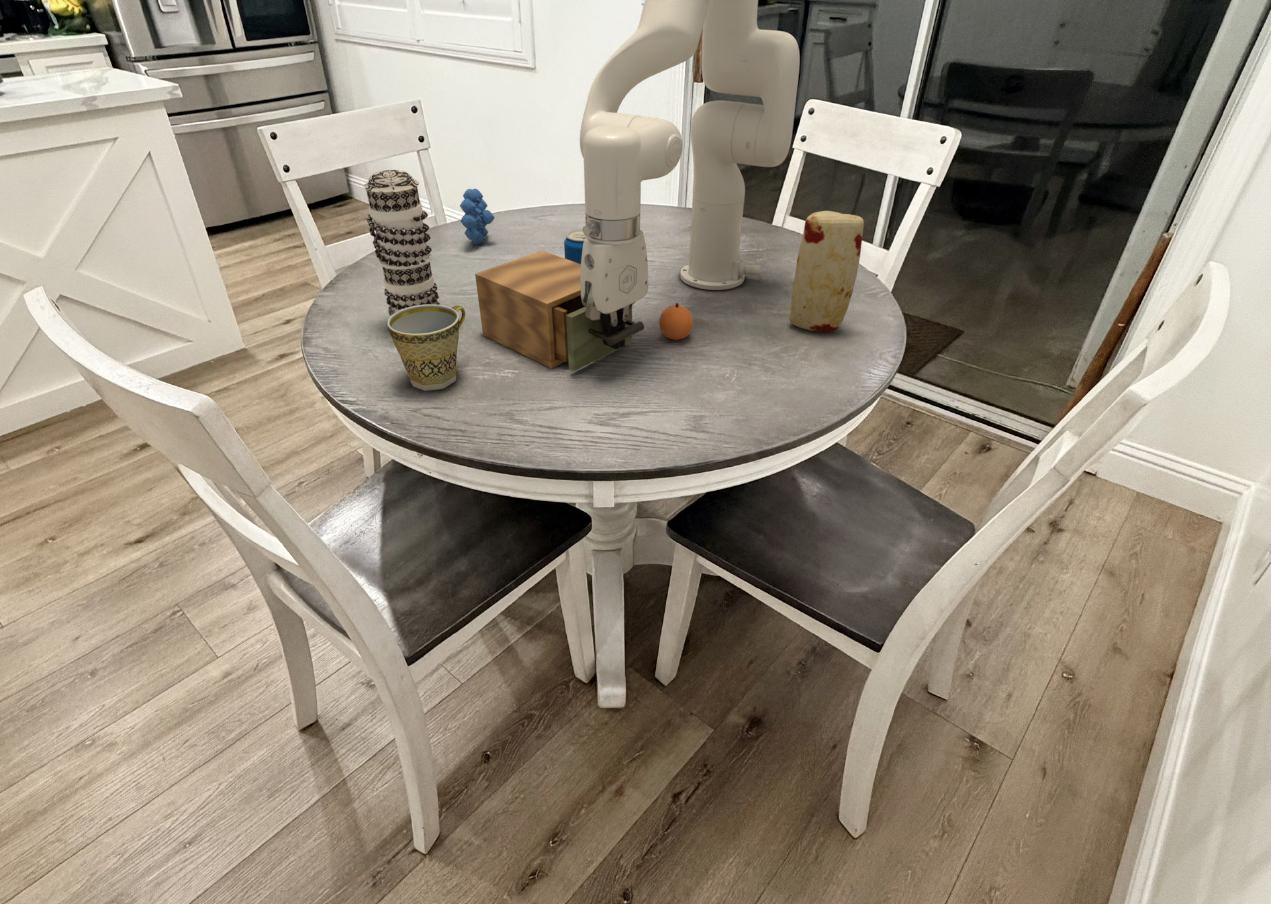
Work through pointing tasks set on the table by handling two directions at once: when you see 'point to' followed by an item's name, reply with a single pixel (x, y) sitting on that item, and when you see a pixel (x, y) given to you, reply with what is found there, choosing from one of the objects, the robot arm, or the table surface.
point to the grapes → (475, 215)
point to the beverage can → (574, 245)
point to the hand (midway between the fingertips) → (613, 345)
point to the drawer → (585, 334)
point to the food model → (826, 270)
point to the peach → (676, 322)
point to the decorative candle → (401, 239)
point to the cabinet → (526, 302)
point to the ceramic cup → (427, 343)
